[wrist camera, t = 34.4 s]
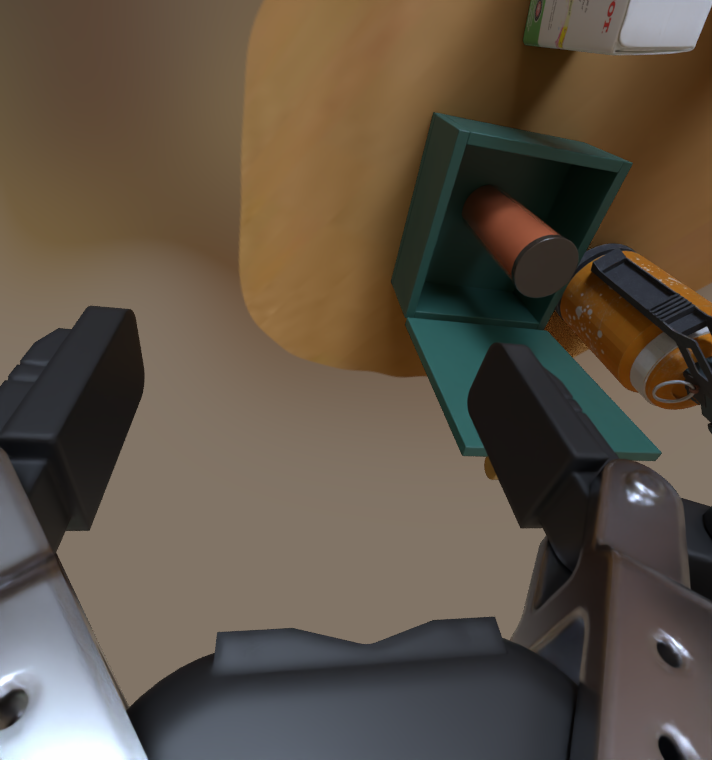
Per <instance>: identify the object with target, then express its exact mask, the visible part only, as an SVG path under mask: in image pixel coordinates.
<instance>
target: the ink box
mask: <svg viewBox="0 0 712 760" xmlns="http://www.w3.org/2000/svg"><path fill="white" fill-rule="evenodd" d="M711 6H712V0H531V2H530V7H529V12H528V17H527V22H526V27H525V32H524V38H523V42H524V44H525V45H529V46H537V47H547V48H556V49H565V50H573V51H581V52H590V53H598V54H607V55H655V54H672V53H681V52H688V51H691V50H693V49H694V48H695V45H696V43H697V40H698V38H699V35H700V33H701V30H702V28H703V26H704V23H705V21H706V18H707V16H708V13H709V11H710V8H711Z"/></svg>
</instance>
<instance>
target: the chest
mask: <svg viewBox="0 0 712 760" xmlns="http://www.w3.org/2000/svg"><path fill="white" fill-rule="evenodd" d="M632 164H633V163H632V162H629V161H627V160H625V159H622V158H620V157H617V156H615V155H613V154H610V153H608V152H606V151H603V150H601V149H598V148H596V147H594V146H591V145H589V144H587V143H584V142H579V141H574V140H569V139H564V138H559V137H554V136H550V135H545V134H540V133H535V132H530V131H525V130H520V129H515V128H510V127H505V126H500V125H495V124H490V123H485V122H480V121H475V120H470V119H465V118H460V117H455V116H450V115H445V114H440V113H435V112H434V113H433V116H432V120H431V124H430V128H429V132H428V136H427V140H426V144H425V148H424V152H423V156H422V160H421V164H420V168H419V172H418V176H417V180H416V184H415V188H414V192H413V196H412V200H411V204H410V207H409V211H408V215H407V219H406V223H405V227H404V231H403V235H402V239H401V243H400V247H399V251H398V255H397V259H396V263H395V267H394V271H393V275H392V279H391V283H392V285H393V288H394V291H395V293H396V296H397V298H398V301H399V304H400V306H401V309H402V311H403V314H404V317H405V318H408V317H409V318H419V319H430V320H440V321H451V322H461V323H472V324H482V325H493V326H503V327H514V328H524V329H535V330H544V328H545V327H546V325H547V323H548V321H549V319H550V317H551V315H552V313H553V312H554V310H555V308H556V306H557V304H558V302H559V300H560V299H561V297H562V295H563V293H564V291H565V289H566V287H567V286H568V284H569V282H570V280H571V279H570V280H569V281H568V283H567V284H566V285H565V286H563V287H562V288H561V289H560V290H558V291H557V292H555V293H553V294H551V295H548V296H545V297H541V298H531V297H527V296H524V295H522V294H521V293H520V292H519V291H518V290H517V289H516V287H515V286H514V284H513V282H512V280H511V279H510V278H509V277H508V276H507V274H506V273H505V272H504V271H503V270H502V269H501V267H500V266H499V265H498V264H497V263H496V261H495V260H494V259H493V258H492V257H491V256H490V254H489V253H488V252H487V251H486V250H485V248H484V247H483V246H482V245H481V244H480V243H479V241H478V240H477V239H476V238H475V237H474V236H473V234H472V233H471V232H470V231H469V230H468V228H467V227H466V226H465V224H464V222H463V219H462V210H463V206H464V204H465V201H466V200H467V198H468V197H469V196H470V194H471V193H472V192H474V191H475V190H476V189H478V188H480V187H482V186H485V185H497V186H499V187H501V188H502V189H504V190H505V191H506V192H507V193H509V194H510V195H511V196H512V197H514V198H515V199H516V200H517V201H519V202H520V203H521V204H522V205H524V206H525V207H526V208H527V209H529V210H530V211H531V212H532V213H534V214H535V215H536V216H537V217H539V218H540V219H541V220H542V221H544V222H545V223H546V224H547V225H549V226H550V227H551V228H552V229H554V230H555V231H556V232H557V233H559V234H560V235H561V236H564V237H566V238H567V239H569V240H570V241H571V242H572V243H573V244H574V245H575V246H576V248H577V250H578V256H579V260H578V265H579V263H580V261H581V259H582V258H583V256H584V254H585V252H586V250H587V248H588V246H589V244H590V243H591V241H592V239H593V237H594V235H595V233H596V231H597V230H598V228H599V226H600V224H601V222H602V220H603V218H604V216H605V215H606V213H607V211H608V209H609V207H610V205H611V203H612V202H613V200H614V198H615V196H616V194H617V192H618V190H619V189H620V187H621V185H622V183H623V181H624V179H625V177H626V175H627V174H628V172H629V170H630V168H631V166H632ZM578 265H577V267H578ZM576 269H577V268H576Z"/></svg>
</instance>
